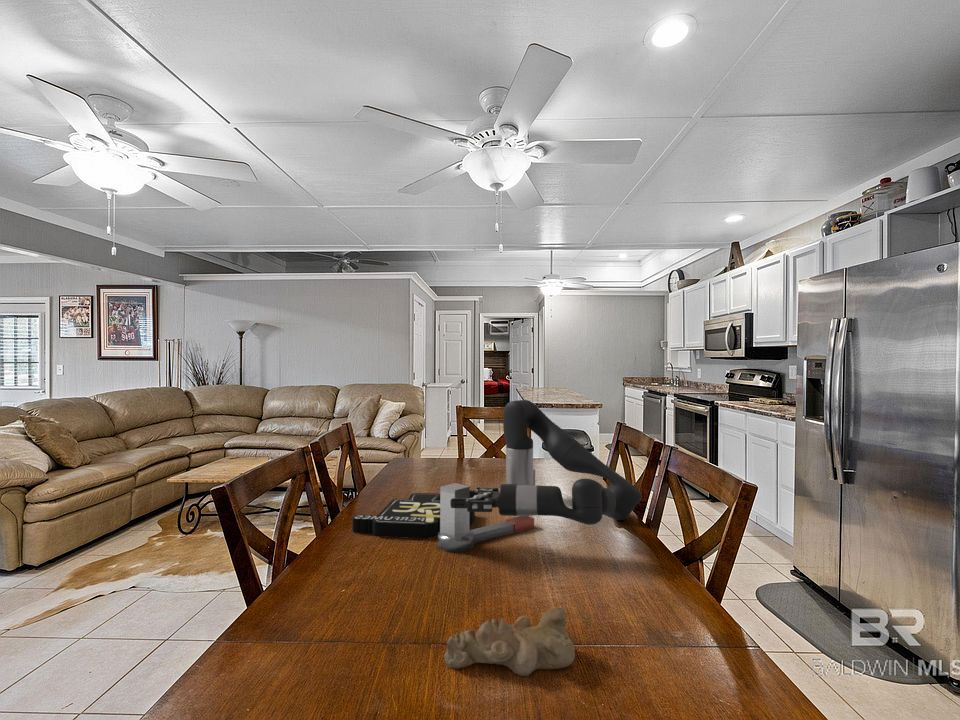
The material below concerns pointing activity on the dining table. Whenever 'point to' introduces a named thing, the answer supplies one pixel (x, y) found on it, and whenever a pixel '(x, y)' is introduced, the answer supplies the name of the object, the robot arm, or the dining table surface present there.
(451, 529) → the brushed aluminum block
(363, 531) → the sign
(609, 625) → the dining table surface
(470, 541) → the ratchet
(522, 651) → the figurine
